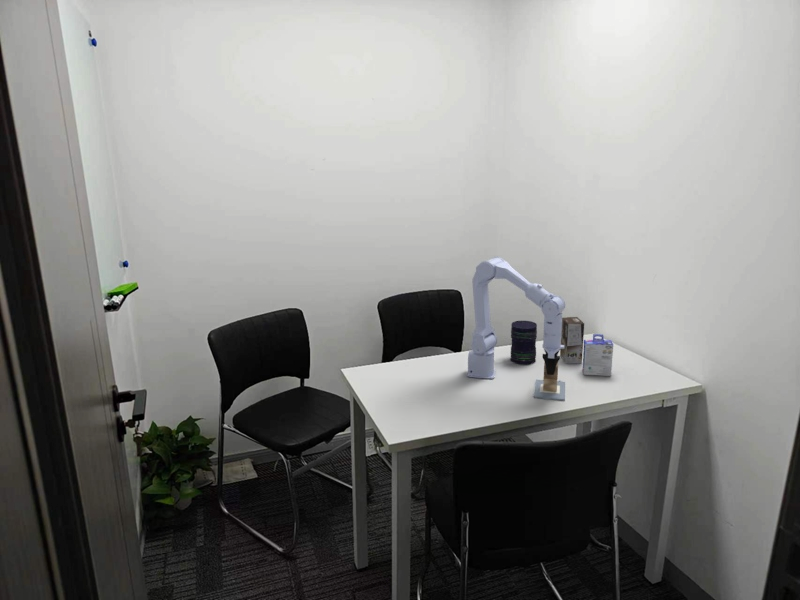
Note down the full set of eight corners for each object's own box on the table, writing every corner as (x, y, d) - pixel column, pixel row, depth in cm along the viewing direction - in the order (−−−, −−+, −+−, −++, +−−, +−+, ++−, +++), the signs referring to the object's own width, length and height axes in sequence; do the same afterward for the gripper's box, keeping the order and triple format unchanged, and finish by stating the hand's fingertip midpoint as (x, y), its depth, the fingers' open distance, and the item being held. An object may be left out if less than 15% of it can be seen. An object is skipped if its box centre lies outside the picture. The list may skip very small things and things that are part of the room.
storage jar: (540, 363, 208) (541, 326, 204) (517, 366, 206) (517, 329, 202) (528, 354, 217) (529, 319, 213) (506, 357, 215) (506, 321, 211)
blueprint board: (533, 397, 179) (533, 396, 179) (536, 381, 192) (536, 379, 192) (565, 400, 176) (565, 398, 176) (565, 383, 189) (565, 381, 189)
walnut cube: (543, 378, 181) (544, 366, 180) (544, 373, 186) (544, 361, 184) (557, 379, 180) (558, 367, 179) (557, 374, 184) (558, 362, 183)
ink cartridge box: (609, 370, 199) (612, 333, 195) (612, 376, 194) (614, 338, 190) (581, 369, 201) (583, 332, 197) (583, 375, 196) (585, 337, 192)
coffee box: (582, 363, 206) (585, 323, 202) (565, 363, 206) (567, 324, 202) (575, 354, 215) (577, 316, 211) (559, 355, 215) (561, 316, 211)
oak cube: (543, 390, 183) (543, 378, 181) (543, 385, 187) (544, 373, 186) (556, 392, 181) (557, 379, 180) (557, 386, 186) (557, 374, 184)
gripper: (564, 340, 171) (562, 380, 174) (565, 326, 184) (563, 363, 188) (542, 339, 173) (540, 378, 177) (543, 325, 186) (542, 361, 190)
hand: (550, 370), depth 182 cm, fingers open, 6 cm apart
